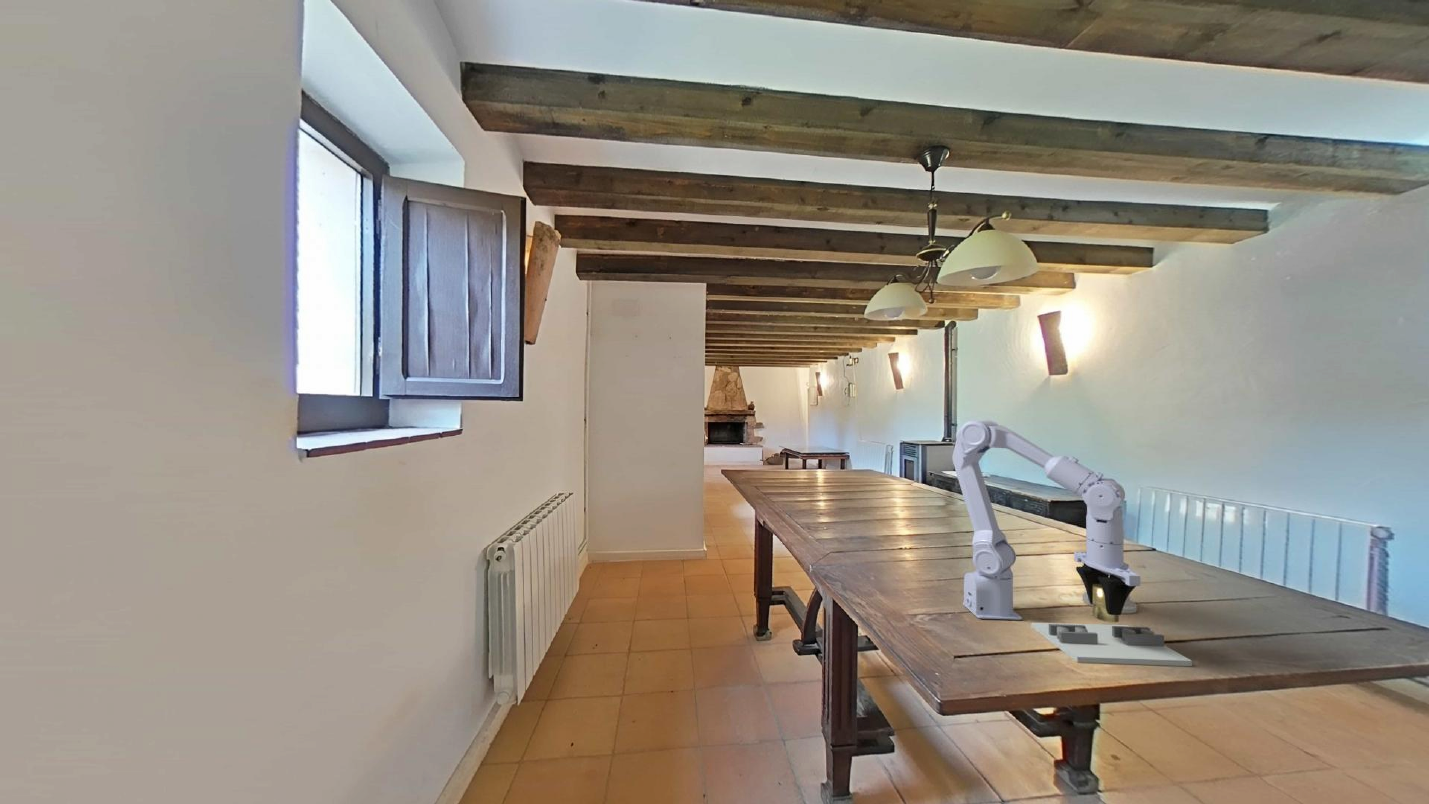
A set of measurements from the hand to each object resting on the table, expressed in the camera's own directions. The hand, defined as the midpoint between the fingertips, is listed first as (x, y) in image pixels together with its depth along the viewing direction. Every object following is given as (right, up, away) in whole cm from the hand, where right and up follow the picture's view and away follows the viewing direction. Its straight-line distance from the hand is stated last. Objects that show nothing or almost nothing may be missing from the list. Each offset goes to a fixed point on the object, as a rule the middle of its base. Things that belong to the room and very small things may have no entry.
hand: (1105, 609), depth 94 cm
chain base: (0, -7, 0) cm, 7 cm away
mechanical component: (+17, -8, +19) cm, 27 cm away
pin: (0, -2, 0) cm, 2 cm away
